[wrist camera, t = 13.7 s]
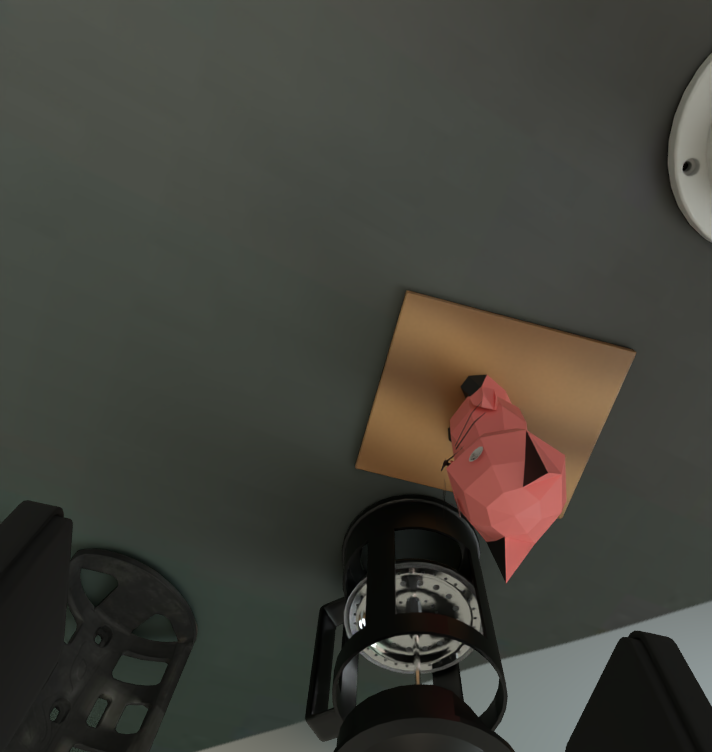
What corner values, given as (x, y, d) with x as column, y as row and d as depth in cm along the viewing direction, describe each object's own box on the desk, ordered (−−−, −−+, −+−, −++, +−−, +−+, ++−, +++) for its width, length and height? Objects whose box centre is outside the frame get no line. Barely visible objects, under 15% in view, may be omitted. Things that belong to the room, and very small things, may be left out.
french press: (453, 468, 41) (525, 841, 20) (510, 575, 44) (628, 999, 23) (296, 535, 44) (211, 931, 22) (360, 632, 47) (339, 1065, 25)
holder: (226, 611, 46) (91, 957, 28) (175, 664, 49) (25, 1006, 31) (94, 528, 44) (-142, 843, 26) (49, 588, 47) (-189, 907, 29)
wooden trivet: (406, 289, 37) (406, 292, 37) (633, 349, 38) (637, 352, 37) (355, 464, 41) (354, 468, 41) (559, 514, 42) (561, 519, 42)
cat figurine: (446, 349, 38) (473, 444, 27) (558, 374, 38) (630, 477, 27) (417, 452, 40) (429, 578, 29) (521, 475, 41) (573, 607, 29)
